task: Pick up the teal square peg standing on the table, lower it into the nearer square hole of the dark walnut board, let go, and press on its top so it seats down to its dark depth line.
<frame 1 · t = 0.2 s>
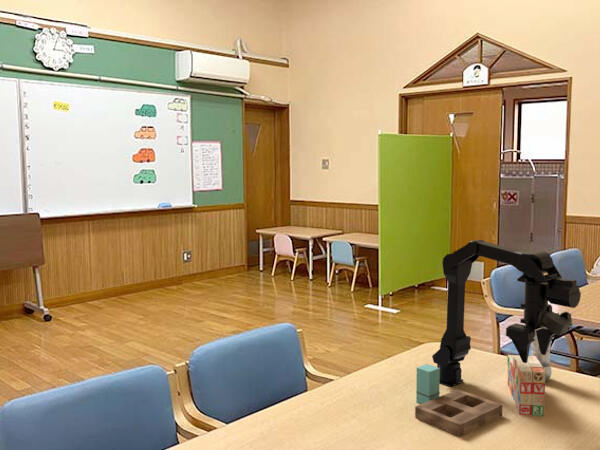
hand: (534, 358, 154), 14 cm above the table, tool pointing down, fingers open, 9 cm apart
plastic bottle: (539, 380, 177), on the table
teal peg: (427, 402, 162), on the table
walnut board: (458, 416, 153), on the table
stack of blocks: (524, 400, 163), on the table
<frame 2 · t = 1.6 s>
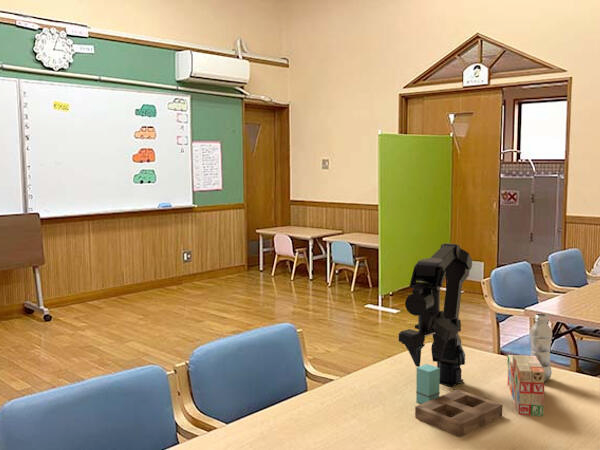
hand: (428, 362, 161), 11 cm above the table, tool pointing down, fingers open, 9 cm apart
nothing on the table moved.
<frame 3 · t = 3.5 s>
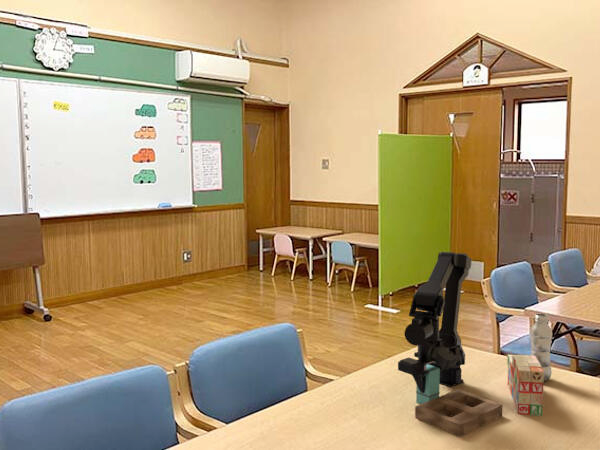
hand: (427, 390, 161), 4 cm above the table, tool pointing down, fingers closed on teal peg, 4 cm apart
teal peg: (427, 402, 162), on the table, touching gripper
everything else where it was.
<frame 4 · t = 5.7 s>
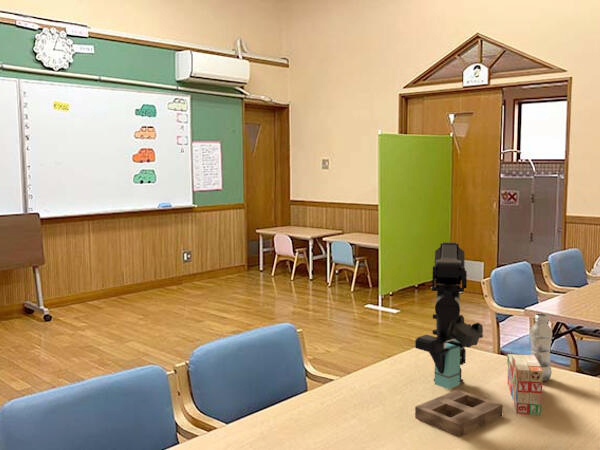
hand: (447, 371, 149), 13 cm above the table, tool pointing down, fingers closed on teal peg, 4 cm apart
teal peg: (447, 384, 149), point 10 cm above the table, touching gripper
everything else where it was.
when the fingers open (5 cm above the table, at t = 8.0 s): teal peg drops 1 cm, resting in walnut board.
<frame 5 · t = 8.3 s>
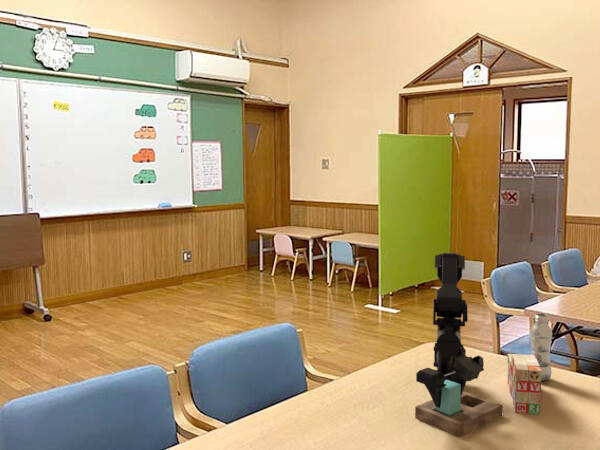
hand: (448, 402, 149), 5 cm above the table, tool pointing down, fingers open, 8 cm apart
teal peg: (447, 421, 150), resting in walnut board
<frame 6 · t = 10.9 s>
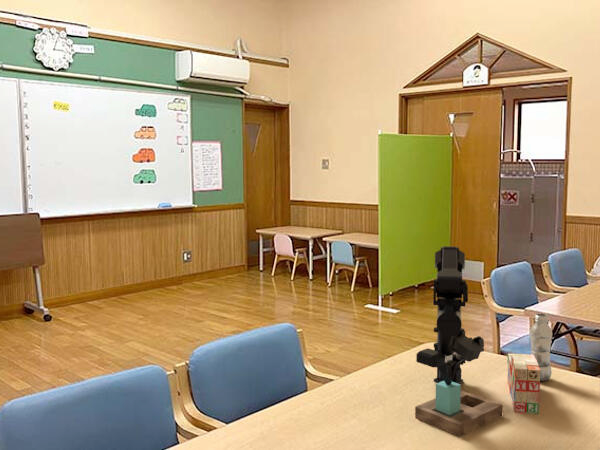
hand: (448, 384, 149), 10 cm above the table, tool pointing down, fingers closed, pressing on teal peg
teal peg: (447, 421, 150), resting in walnut board, touching gripper
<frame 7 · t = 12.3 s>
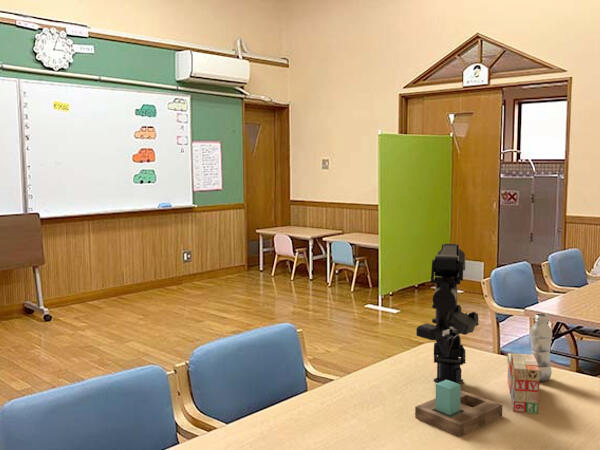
hand: (445, 356, 161), 13 cm above the table, tool pointing down, fingers closed
teal peg: (447, 421, 150), resting in walnut board
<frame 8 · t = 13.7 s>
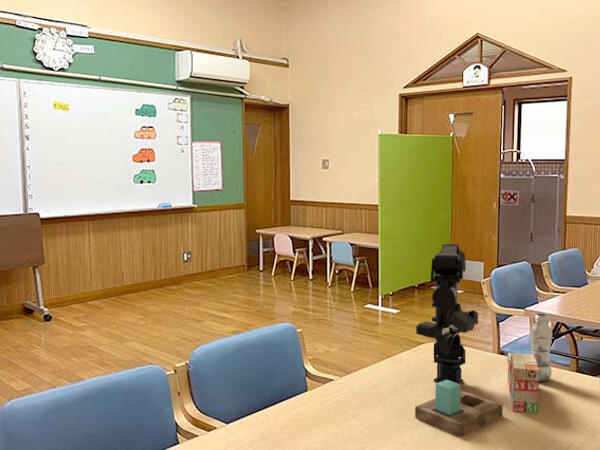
hand: (445, 355, 162), 13 cm above the table, tool pointing down, fingers closed
at the end: teal peg 0.1 cm from the target spot on the walnut board, point 0.0 cm above the walnut board's base; teal peg tilted 0°; the gripper is holding nothing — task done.
